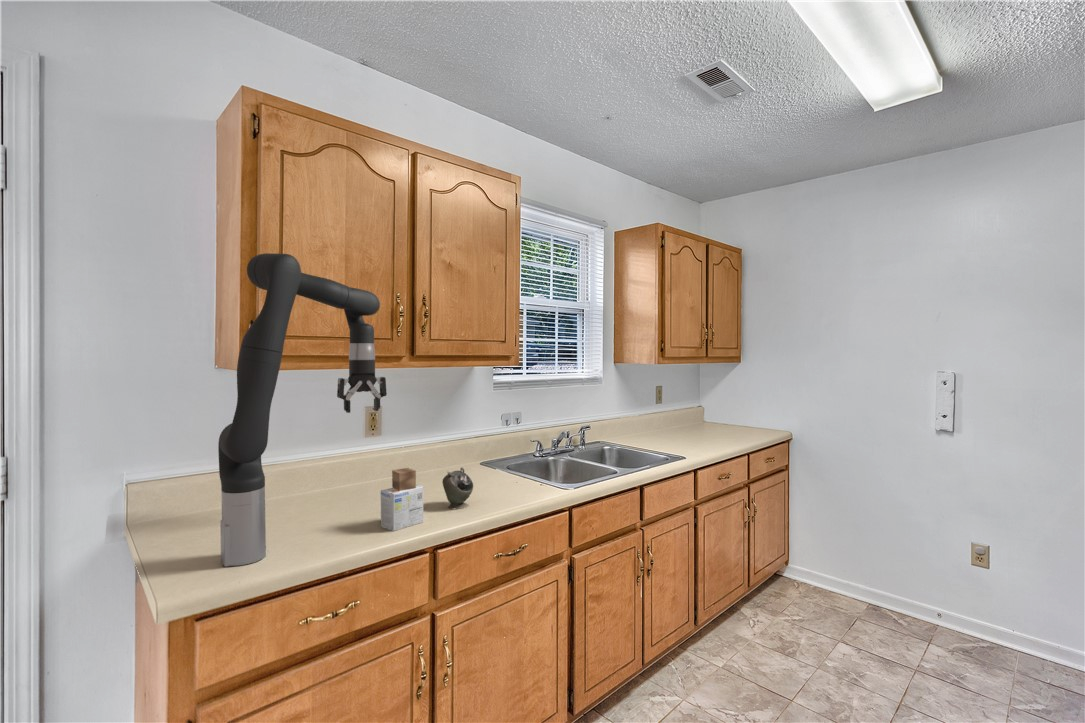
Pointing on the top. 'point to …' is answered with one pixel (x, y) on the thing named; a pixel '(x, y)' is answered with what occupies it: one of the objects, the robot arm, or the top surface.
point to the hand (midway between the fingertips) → (362, 411)
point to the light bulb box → (401, 507)
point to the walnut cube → (404, 479)
